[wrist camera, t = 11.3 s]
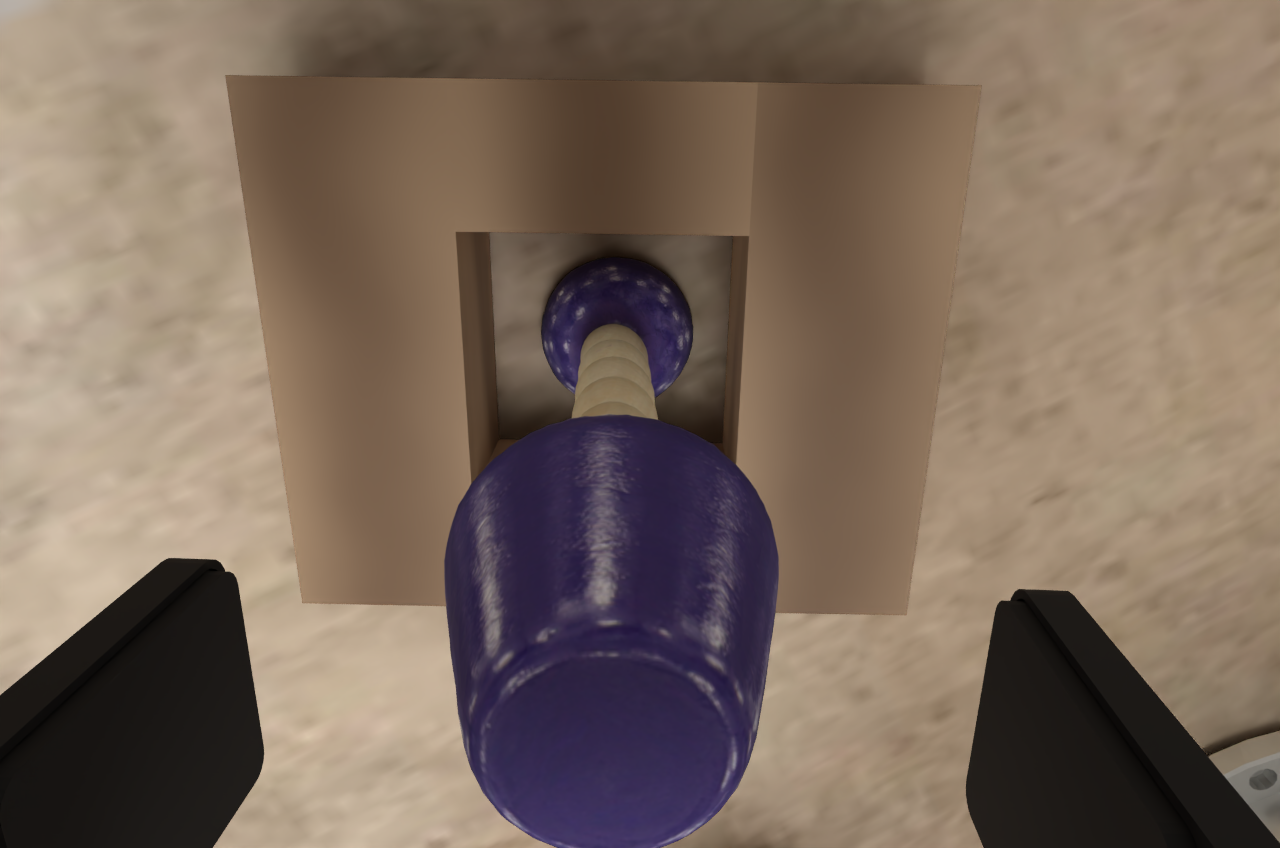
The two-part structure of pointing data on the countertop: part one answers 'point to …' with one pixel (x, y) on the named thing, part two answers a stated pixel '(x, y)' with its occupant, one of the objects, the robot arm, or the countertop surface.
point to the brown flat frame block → (601, 204)
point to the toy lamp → (611, 590)
